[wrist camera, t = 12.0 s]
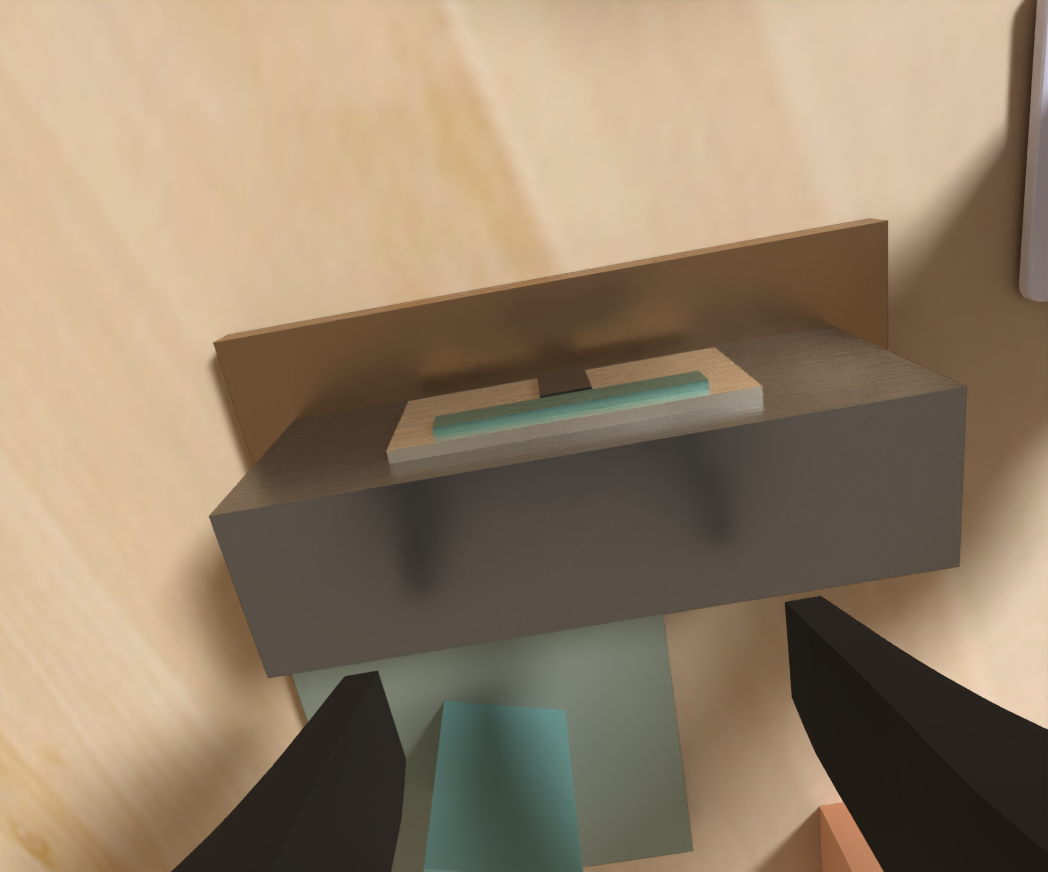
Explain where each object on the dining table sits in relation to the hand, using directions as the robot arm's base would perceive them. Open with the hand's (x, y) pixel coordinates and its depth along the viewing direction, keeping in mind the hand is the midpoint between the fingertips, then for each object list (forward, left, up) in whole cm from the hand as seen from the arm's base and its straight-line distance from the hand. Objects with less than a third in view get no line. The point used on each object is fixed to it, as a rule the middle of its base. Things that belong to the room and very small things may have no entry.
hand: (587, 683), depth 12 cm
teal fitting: (+4, +10, -9) cm, 13 cm away
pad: (+3, +9, -10) cm, 14 cm away
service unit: (-1, -2, -10) cm, 10 cm away
